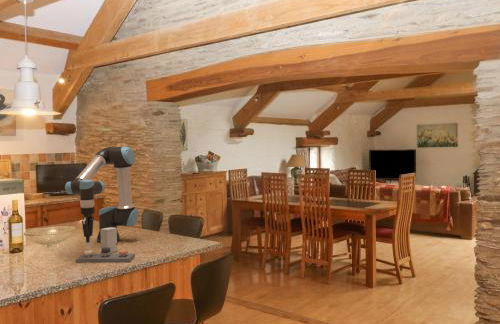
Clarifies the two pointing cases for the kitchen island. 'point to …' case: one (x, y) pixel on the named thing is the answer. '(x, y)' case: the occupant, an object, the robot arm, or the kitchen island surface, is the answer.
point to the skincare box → (109, 239)
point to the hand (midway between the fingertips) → (88, 247)
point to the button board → (105, 258)
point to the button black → (105, 251)
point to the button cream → (88, 253)
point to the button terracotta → (123, 252)
